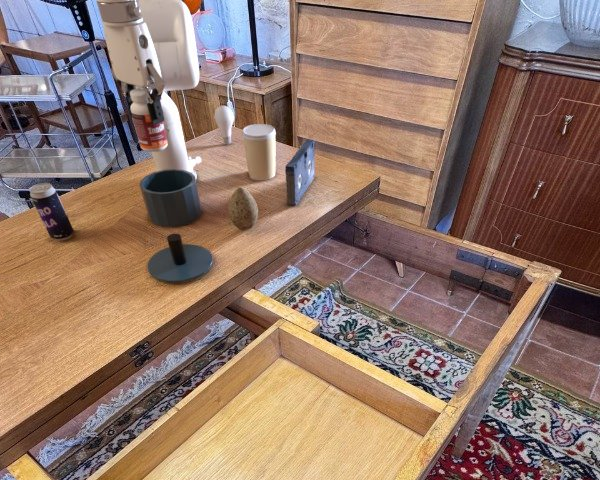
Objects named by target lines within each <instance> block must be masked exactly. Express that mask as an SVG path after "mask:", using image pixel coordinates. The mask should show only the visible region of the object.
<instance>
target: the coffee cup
mask: <svg viewBox="0 0 600 480" xmlns="http://www.w3.org/2000/svg"><path fill="white" fill-rule="evenodd" d="M276 135H277V132H276V129H275V127H274V126H272V125H270V124H268V123H267V124H266V123H254V124H249V125H246V126H244V128H243V129H242V132H241V137H242V139H243V140H242V141H243V147H244V154H245V158H246V165H247V170H248V176H249V178H251V179H252V180H255V181H267V180H271V179H272V178H274V177H275V176H276Z"/></svg>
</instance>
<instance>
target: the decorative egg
mask: <svg viewBox="0 0 600 480" xmlns="http://www.w3.org/2000/svg"><path fill="white" fill-rule="evenodd" d="M227 207H228V208H227V209H228V211H227V212H228V217H229V220H230V222H231V223H232V224H233V226H234V227H236V228H237V229H239V230H243V231H244V230H245V231H247V230H250V229H252V228H253V227H254V226H255V224H256V223H257V221H258V217H259V216H258V215H259V208H258V204H257V202H256V200H255V198H254V197H253V195H252V194H251V193H250V192H249V191H248V190H247V189H245V188H243V187H238V188H236V189H235V190H234V191H233V193H232V195H231V197H230V199H229V202H228V206H227Z"/></svg>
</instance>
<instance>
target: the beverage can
mask: <svg viewBox="0 0 600 480" xmlns="http://www.w3.org/2000/svg"><path fill="white" fill-rule="evenodd" d="M29 192H30V193H29V196H30V199H31V201H32V202H33V205H34V207H35V209H36V211H37V213H38V215H39V217H40V220H41V221H42V223H43V225H44V228H45V229H46V231H47V233H48V236H49V237H50V238H51V239H53V240H55V241H59V242H62V241H67V240H68V239H71V237H72V236H73V233H74V228H73V225H72V224H71V221H70V218H69V216H68V214H67V211H66V210H65V208H64V204H63V203H62V201H61V199H60V196H59V194H58V192H57V189H55V187H53V185H52V184H51V183H49V182H40V183H36V184H34V185H32V186H30V187H29Z"/></svg>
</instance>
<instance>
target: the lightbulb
mask: <svg viewBox="0 0 600 480" xmlns="http://www.w3.org/2000/svg"><path fill="white" fill-rule="evenodd" d="M213 115H214V116H213V118H214V122H215V124H216V125H217V127H218V129H219V131H220V134H221V137H222V141H223V143H224V144H225V146H228V145H230V144H231V143H232V127H233V124H234V122H235V121H234V120H235V116H234V112H233V111H232V109H231V108H230V107H228V106H227V105H219V106H218V107H216V109H215V111H214V114H213Z"/></svg>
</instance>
